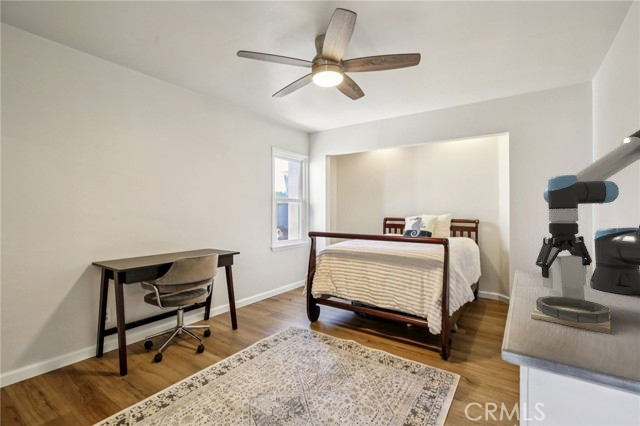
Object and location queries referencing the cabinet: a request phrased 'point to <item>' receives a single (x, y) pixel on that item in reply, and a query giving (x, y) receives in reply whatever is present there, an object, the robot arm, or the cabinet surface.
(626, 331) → the cabinet surface
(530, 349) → the cabinet surface
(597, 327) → the collar
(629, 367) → the cabinet surface
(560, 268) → the skincare box
